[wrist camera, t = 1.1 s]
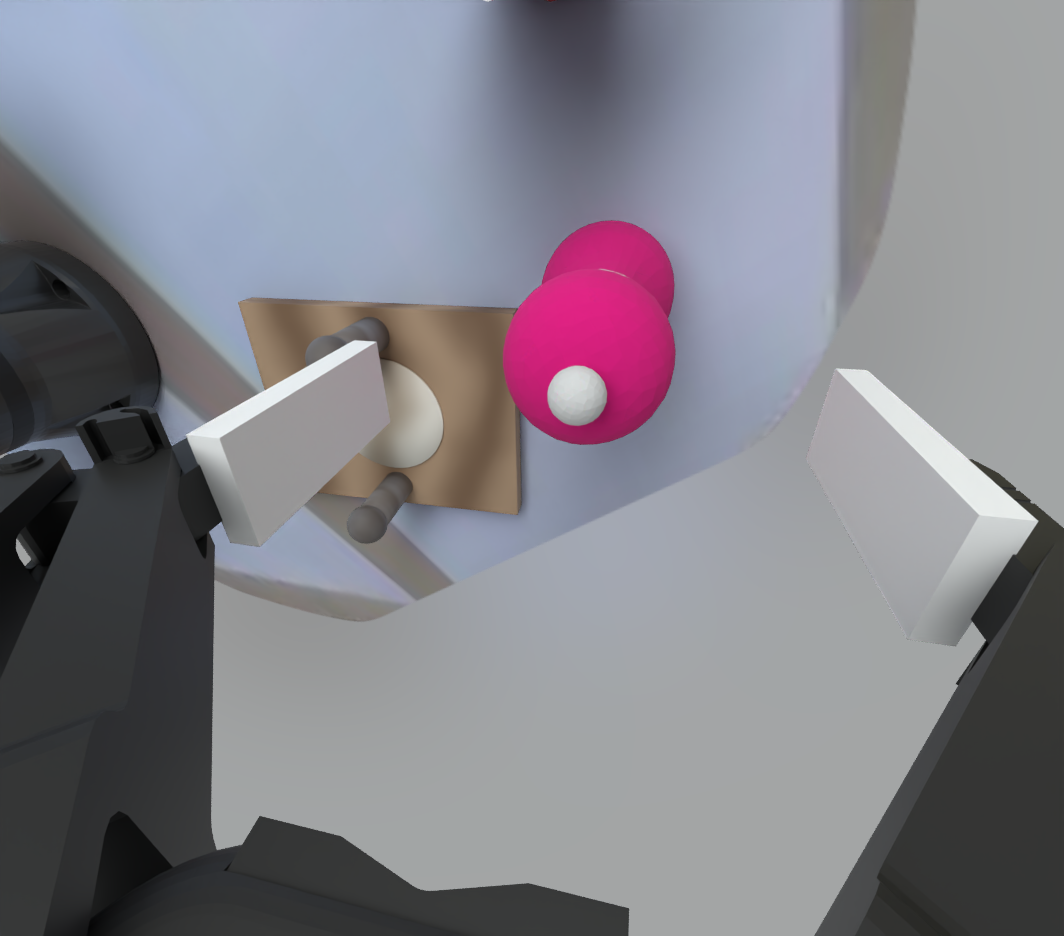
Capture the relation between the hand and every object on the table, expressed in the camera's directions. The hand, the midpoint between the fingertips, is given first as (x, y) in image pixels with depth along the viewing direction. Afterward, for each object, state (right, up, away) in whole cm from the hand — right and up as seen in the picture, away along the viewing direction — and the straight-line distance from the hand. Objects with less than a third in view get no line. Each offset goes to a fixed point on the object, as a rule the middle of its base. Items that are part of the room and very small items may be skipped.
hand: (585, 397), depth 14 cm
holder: (-12, +3, +24) cm, 27 cm away
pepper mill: (+3, +10, +16) cm, 19 cm away
